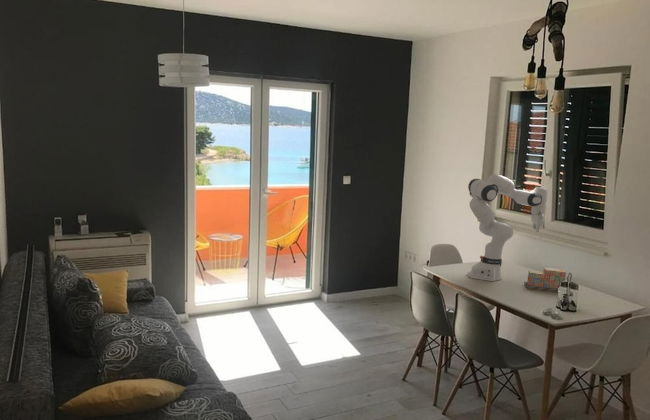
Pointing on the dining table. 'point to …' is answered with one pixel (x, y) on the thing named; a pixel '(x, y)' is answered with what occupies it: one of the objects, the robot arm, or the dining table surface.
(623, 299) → the dining table surface
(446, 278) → the dining table surface
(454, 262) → the dining table surface
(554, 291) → the grey flat slab
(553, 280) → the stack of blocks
